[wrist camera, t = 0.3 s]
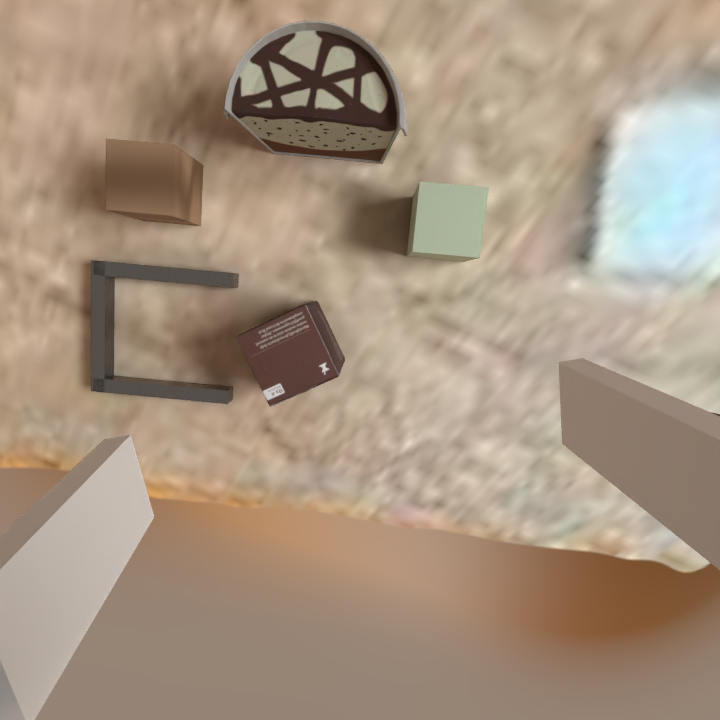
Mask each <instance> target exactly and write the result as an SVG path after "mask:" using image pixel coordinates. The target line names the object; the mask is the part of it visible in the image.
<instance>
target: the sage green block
mask: <svg viewBox="0 0 720 720" xmlns="http://www.w3.org/2000/svg"><path fill="white" fill-rule="evenodd" d="M488 189H489V187H477V186H466V185H455V184H444V183H433V182H421V181H420V182H419V184H418V187H417V189H416V191H415V193H414V195H413V201H412V210H411V220H410V230H409V239H408V249H407V256H408V257H419V258H430V259H441V260H452V261H463V262H465V261H469V260H473V259H477V258H480V252H481V244H482V236H483V228H484V220H485V213H486V205H487V197H488Z"/></svg>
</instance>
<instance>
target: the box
mask: <svg viewBox="0 0 720 720" xmlns="http://www.w3.org/2000/svg"><path fill="white" fill-rule="evenodd" d="M236 339H237V341H238V343H239V345H240V347H241V349H242V351H243V353H244V355H245V357H246V359H247V361H248V363H249V365H250V367H251V369H252V371H253V373H254V375H255V377H256V379H257V381H258V383H259V385H260V387H261V389H262V391H263V393H264V396H265V398H266V400H267V402H268V404H269V406H274V405H276V404H278V403H280V402H283V401H285V400H287V399H289V398H292V397H294V396H296V395H298V394H301V393H304V392H306V391H308V390H310V389H312V388H314V387H316V386H319V385H321V384H323V383H325V382H328V381H330V380H332V379H334V378H337V377H338V376H339V374H340V372H341V369H342V366H343V364H344V361H345V358H344V356H343V354H342V351H341V349H340V347H339V345H338V343H337V341H336V339H335V337H334V335H333V333H332V330H331V328H330V326H329V324H328V322H327V320H326V318H325V315H324V313H323V311H322V309H321V307H320V305H319V303H318V301H315V302H312V303H310V304H306V305H302V306H300V307H298V308H295V309H293V310H291V311H289V312H286V313H284V314H282V315H280V316H278V317H276V318H274V319H271V320H269V321H267V322H265V323H263V324H261V325H259V326H257V327H254V328H252V329H250V330H248V331H246V332H244V333H242V334H240V335H238V336H237V337H236Z"/></svg>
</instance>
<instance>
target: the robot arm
mask: <svg viewBox="0 0 720 720" xmlns="http://www.w3.org/2000/svg"><path fill="white" fill-rule="evenodd" d="M559 381H560V404H561V427H562V444H563V445H565V446H566V447H567V448H568V449H570V450H571V451H572V452H573V453H575V454H576V455H577V456H578V457H580V458H581V459H582V460H583V461H584V462H586V463H587V464H588V465H589V466H591V467H592V468H593V469H594V470H596V471H597V472H598V473H599V474H601V475H602V476H603V477H604V478H606V479H607V480H608V481H609V482H611V483H612V484H613V485H614V486H616V487H617V488H618V489H619V490H621V491H622V492H623V493H624V494H626V495H627V496H628V497H629V498H631V499H632V500H633V501H634V502H636V503H637V504H638V505H639V506H641V507H642V508H643V509H644V510H646V511H647V512H648V513H649V514H651V515H652V516H653V517H654V518H655V519H657V520H658V521H659V522H660V523H662V524H663V525H664V526H665V527H667V528H668V529H669V530H670V531H672V532H673V533H674V534H675V535H677V536H678V537H679V538H680V539H682V540H683V541H684V542H685V543H687V544H688V545H689V546H690V547H692V548H693V549H694V550H695V551H697V552H698V553H699V554H700V555H702V556H703V557H704V558H705V559H707V560H708V561H709V562H710V563H712V564H713V565H714V566H715V567H717V568H718V569H719V570H720V414H716V413H711V412H708V411H706V410H703V409H701V408H699V407H696V406H694V405H692V404H689V403H687V402H684V401H682V400H680V399H677V398H675V397H673V396H670V395H668V394H666V393H663V392H661V391H658V390H656V389H654V388H651V387H649V386H647V385H644V384H642V383H640V382H637V381H635V380H632V379H630V378H628V377H625V376H623V375H621V374H618V373H616V372H614V371H611V370H609V369H606V368H604V367H602V366H599V365H597V364H595V363H592V362H590V361H588V360H585V359H583V358H581V359H575V360H569V361H564V362H559ZM153 518H154V515H153V511H152V508H151V504H150V501H149V497H148V494H147V490H146V487H145V483H144V480H143V476H142V473H141V469H140V466H139V462H138V459H137V455H136V452H135V448H134V445H133V442H132V438H131V435H128V436H122V437H116V438H110V439H104V440H103V441H102V442H101V443H100V444H99V445H98V446H97V447H96V448H95V449H93V450H92V451H91V452H90V453H89V454H88V455H87V456H86V457H85V458H84V459H83V460H82V461H80V462H79V463H78V464H77V465H76V466H75V467H74V468H73V469H72V470H71V471H70V472H69V473H68V474H66V475H65V476H64V477H63V478H62V479H61V480H60V481H59V482H58V483H57V484H56V485H55V486H53V487H52V488H51V489H50V490H49V491H48V492H47V493H46V494H45V495H44V496H43V497H42V498H41V499H39V500H38V501H37V502H36V503H35V504H34V505H33V506H32V507H31V508H30V509H29V510H27V511H26V513H24V514H23V515H22V516H21V517H20V518H19V519H18V520H17V521H16V522H15V523H13V524H12V525H11V526H10V527H9V528H8V529H7V530H6V531H5V532H4V533H3V534H2V535H0V720H35V718H36V716H37V714H38V713H39V711H40V709H41V708H42V706H43V704H44V703H45V701H46V699H47V698H48V696H49V694H50V693H51V691H52V689H53V687H54V686H55V684H56V682H57V681H58V679H59V677H60V676H61V674H62V672H63V671H64V669H65V667H66V665H67V664H68V662H69V660H70V659H71V657H72V655H73V654H74V652H75V650H76V649H77V647H78V645H79V643H80V642H81V640H82V638H83V637H84V635H85V633H86V632H87V630H88V628H89V626H90V625H91V623H92V621H93V620H94V618H95V616H96V615H97V613H98V611H99V610H100V608H101V606H102V604H103V603H104V601H105V599H106V598H107V596H108V594H109V593H110V591H111V589H112V587H113V586H114V584H115V582H116V581H117V579H118V577H119V576H120V574H121V572H122V571H123V569H124V567H125V566H126V564H127V562H128V560H129V559H130V557H131V555H132V553H133V552H134V550H135V549H136V547H137V545H138V544H139V542H140V540H141V538H142V537H143V535H144V533H145V532H146V530H147V528H148V527H149V525H150V523H151V522H152V520H153Z"/></svg>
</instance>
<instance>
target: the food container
mask: <svg viewBox="0 0 720 720" xmlns="http://www.w3.org/2000/svg"><path fill="white" fill-rule="evenodd" d="M224 115H225V118H226V119H227V120H228V118H229V115H230V116H232V117H233V118H234V119H235V120H236V121H237V122H238V123H239V124H240V125H241V126H242V127H244V128H245V129H246V130H247V131H248V132H249V133H250V134H251V135H252V136H253V137H255V138H256V139H257V140H258V141H259V142H260V143H261V144H262V145H263V146H264V147H266V148H267V149H268V150H269V151H270V152H271V153H272V154H282V155H293V156H304V157H315V158H326V159H337V160H348V161H359V162H370V163H380V164H382V163H383V162H384V160H385V158H386V156H387V154H388V152H389V150H390V148H391V146H392V144H393V142H394V140H395V138H396V136H397V134H398V132H399V130H400V129H402V131H403V133H404V135H405V136H407V115H406V107H405V103H404V99H403V95H402V92H401V89H400V86H399V84H398V82H397V79H396V77H395V75H394V73H393V70H392V69H391V67H390V66H389V64H388V63H387V61H386V59H385V58H384V57H383V55H382V54H381V53H380V52H379V51H378V50H377V49H376V48H375V46H373V45H372V44H371V43H370V42H369V41H367V40H366V39H365V38H364V37H362V36H361V35H359V34H357V33H355V32H354V31H352V30H350V29H348V28H345V27H342V26H339V25H337V24H334V23H329V22H323V21H301V22H296V23H290V24H288V25H285V26H282V27H279V28H277V29H275V30H273V31H272V32H270V33H268V34H266V35H265V36H263V37H262V38H261V39H260V40H258V41H257V42H256V43H255V44H254V45H253V46H252V47H251V48H250V49H249V50H248V51H247V52H246V53H245V55H244V56H243V57H242V59H241V61H240V62H239V64H238V65H237V67H236V69H235V71H234V73H233V76H232V78H231V80H230V83H229V86H228V90H227V93H226V97H225V104H224Z"/></svg>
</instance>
